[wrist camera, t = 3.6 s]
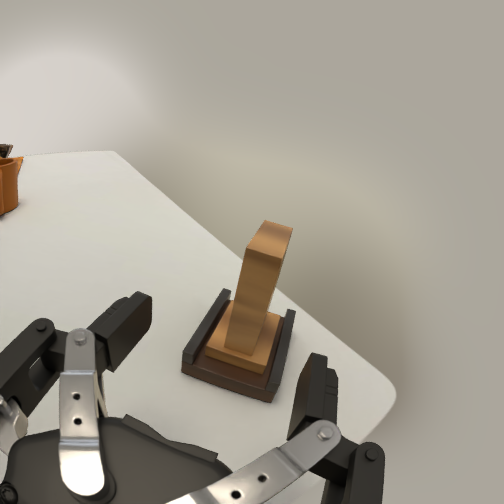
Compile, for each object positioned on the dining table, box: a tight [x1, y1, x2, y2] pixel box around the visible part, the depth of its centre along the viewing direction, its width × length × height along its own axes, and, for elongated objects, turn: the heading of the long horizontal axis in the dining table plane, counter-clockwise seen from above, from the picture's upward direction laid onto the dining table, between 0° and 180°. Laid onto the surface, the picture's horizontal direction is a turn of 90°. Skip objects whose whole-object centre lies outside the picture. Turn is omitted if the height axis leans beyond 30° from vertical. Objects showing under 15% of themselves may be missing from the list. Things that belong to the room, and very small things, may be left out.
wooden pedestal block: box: [205, 220, 293, 374], centre depth 23 cm, size 7×5×10 cm
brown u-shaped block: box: [181, 288, 296, 403], centre depth 25 cm, size 10×8×3 cm
